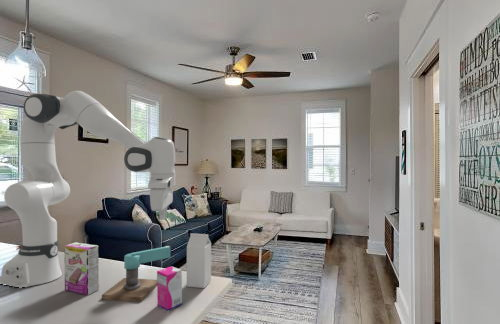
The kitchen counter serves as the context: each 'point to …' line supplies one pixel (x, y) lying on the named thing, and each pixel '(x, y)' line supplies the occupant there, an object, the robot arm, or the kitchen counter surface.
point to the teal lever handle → (145, 257)
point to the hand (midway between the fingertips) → (162, 219)
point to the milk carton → (198, 260)
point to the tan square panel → (130, 288)
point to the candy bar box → (81, 268)
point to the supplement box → (169, 288)
